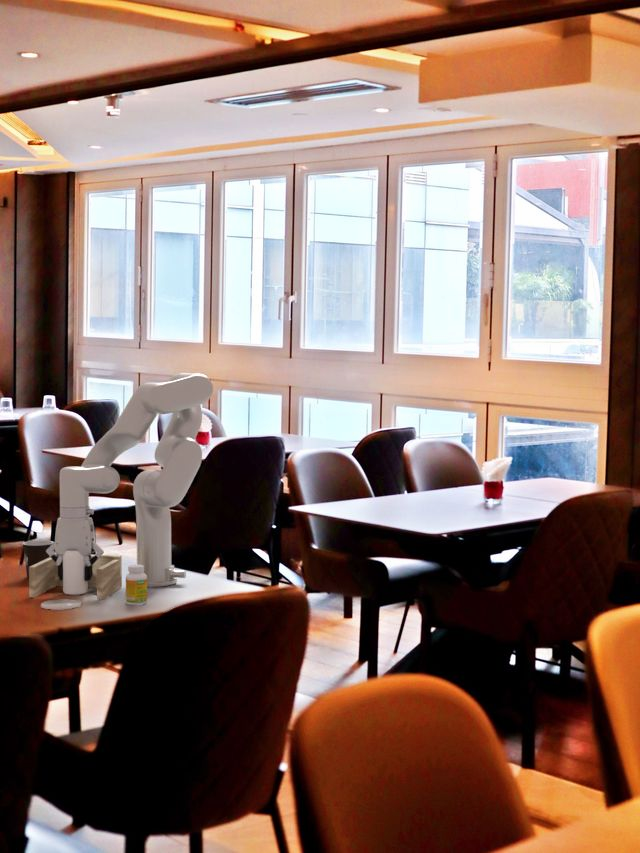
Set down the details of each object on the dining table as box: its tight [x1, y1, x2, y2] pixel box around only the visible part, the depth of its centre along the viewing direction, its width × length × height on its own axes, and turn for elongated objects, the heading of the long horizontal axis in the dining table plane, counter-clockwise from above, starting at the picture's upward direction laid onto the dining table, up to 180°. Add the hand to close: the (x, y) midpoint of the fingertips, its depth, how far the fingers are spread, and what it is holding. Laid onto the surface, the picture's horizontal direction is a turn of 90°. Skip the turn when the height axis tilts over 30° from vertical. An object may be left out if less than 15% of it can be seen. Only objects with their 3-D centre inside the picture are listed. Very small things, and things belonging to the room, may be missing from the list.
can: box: [62, 550, 89, 596], centre depth 324 cm, size 6×6×12 cm
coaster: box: [40, 598, 82, 611], centre depth 308 cm, size 10×10×1 cm
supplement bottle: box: [125, 564, 148, 606], centre depth 311 cm, size 5×5×10 cm
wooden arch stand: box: [28, 554, 123, 600], centre depth 324 cm, size 20×16×9 cm
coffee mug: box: [22, 539, 55, 580], centre depth 346 cm, size 12×9×10 cm
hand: (75, 579), depth 324 cm, fingers closed on can, 6 cm apart
